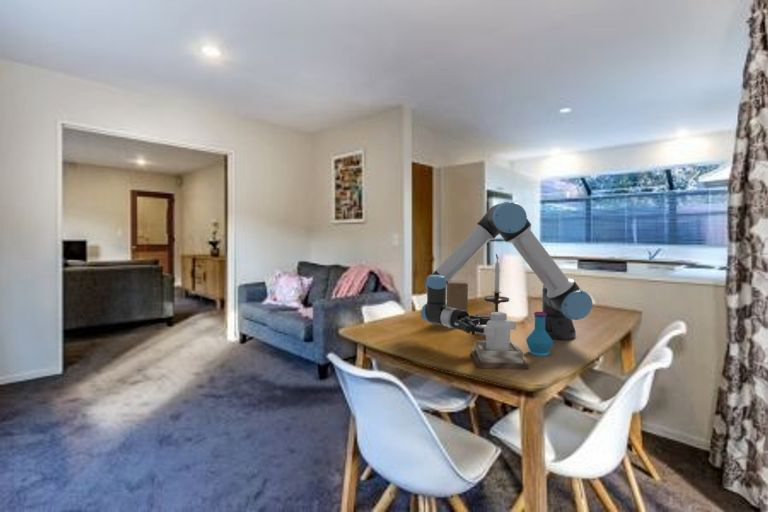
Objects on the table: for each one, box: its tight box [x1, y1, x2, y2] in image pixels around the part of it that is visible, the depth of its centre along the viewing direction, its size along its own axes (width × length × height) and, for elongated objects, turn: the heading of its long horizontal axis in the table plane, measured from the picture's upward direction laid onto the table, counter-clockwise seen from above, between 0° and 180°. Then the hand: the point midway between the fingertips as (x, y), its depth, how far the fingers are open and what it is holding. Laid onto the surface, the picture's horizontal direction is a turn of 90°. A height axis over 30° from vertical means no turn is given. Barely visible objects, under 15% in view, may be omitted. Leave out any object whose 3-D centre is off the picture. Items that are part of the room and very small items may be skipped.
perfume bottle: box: [525, 311, 554, 357], centre depth 144 cm, size 9×9×15 cm
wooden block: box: [446, 279, 469, 312], centre depth 194 cm, size 10×10×20 cm
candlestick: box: [484, 253, 510, 312], centre depth 178 cm, size 11×11×35 cm
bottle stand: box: [470, 340, 529, 370], centre depth 136 cm, size 16×16×5 cm
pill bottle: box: [485, 311, 511, 351], centre depth 136 cm, size 8×8×15 cm
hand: (504, 329), depth 134 cm, fingers open, 13 cm apart
